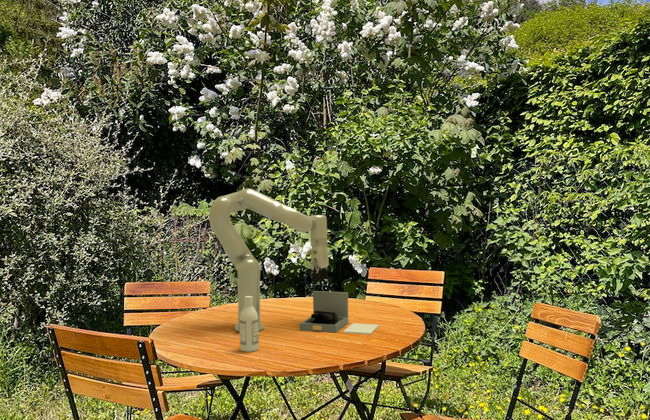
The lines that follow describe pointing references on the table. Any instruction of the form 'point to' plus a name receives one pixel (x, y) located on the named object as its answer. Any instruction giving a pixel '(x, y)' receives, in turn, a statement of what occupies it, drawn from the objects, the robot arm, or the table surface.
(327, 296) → the equipment case
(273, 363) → the table surface
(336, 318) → the end cap
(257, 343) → the bath foam
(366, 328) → the grey mat
